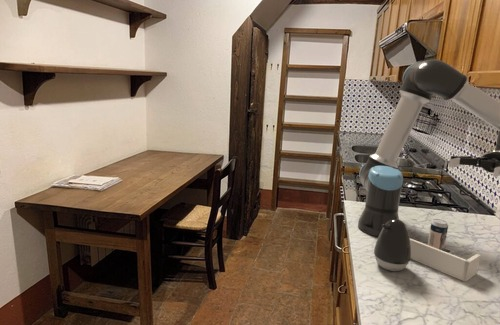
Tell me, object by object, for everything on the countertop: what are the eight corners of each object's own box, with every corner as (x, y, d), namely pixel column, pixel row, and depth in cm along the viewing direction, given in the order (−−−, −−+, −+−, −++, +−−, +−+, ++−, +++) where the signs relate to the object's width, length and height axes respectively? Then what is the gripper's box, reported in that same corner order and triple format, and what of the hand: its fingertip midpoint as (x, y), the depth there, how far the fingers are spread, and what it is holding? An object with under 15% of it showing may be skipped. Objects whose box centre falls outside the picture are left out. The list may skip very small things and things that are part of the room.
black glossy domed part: (364, 261, 110) (370, 215, 106) (390, 256, 114) (396, 211, 111) (389, 278, 101) (397, 228, 97) (416, 272, 105) (424, 223, 102)
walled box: (465, 281, 101) (469, 262, 100) (388, 248, 119) (390, 232, 118) (480, 270, 108) (484, 252, 106) (405, 241, 126) (407, 225, 125)
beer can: (443, 261, 111) (449, 225, 108) (426, 258, 113) (432, 222, 110) (441, 255, 115) (447, 220, 113) (425, 251, 117) (431, 217, 114)
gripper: (534, 179, 122) (513, 188, 109) (457, 164, 141) (432, 170, 129) (539, 158, 121) (518, 164, 108) (461, 145, 140) (435, 149, 127)
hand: (471, 167), depth 118 cm, fingers open, 13 cm apart
